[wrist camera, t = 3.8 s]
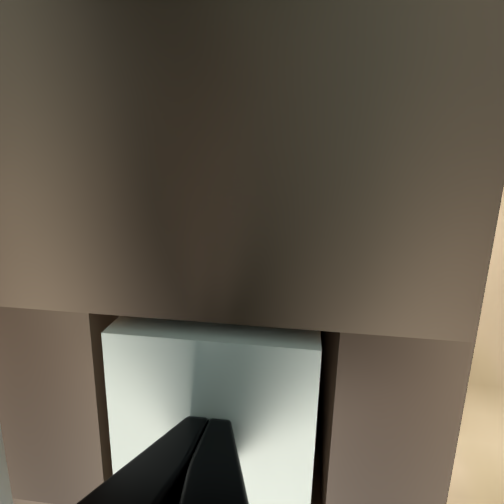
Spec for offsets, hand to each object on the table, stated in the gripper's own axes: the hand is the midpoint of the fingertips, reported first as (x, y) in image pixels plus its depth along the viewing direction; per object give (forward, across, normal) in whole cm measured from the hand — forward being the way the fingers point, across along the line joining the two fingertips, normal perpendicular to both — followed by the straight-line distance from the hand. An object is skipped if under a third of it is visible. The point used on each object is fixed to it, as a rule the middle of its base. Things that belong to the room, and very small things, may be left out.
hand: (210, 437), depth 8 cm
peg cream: (+5, 0, 0) cm, 5 cm away
